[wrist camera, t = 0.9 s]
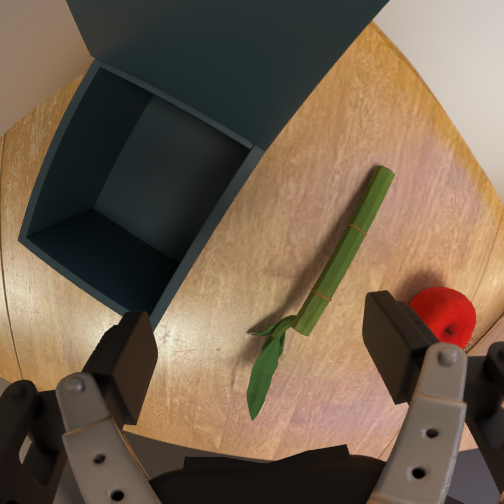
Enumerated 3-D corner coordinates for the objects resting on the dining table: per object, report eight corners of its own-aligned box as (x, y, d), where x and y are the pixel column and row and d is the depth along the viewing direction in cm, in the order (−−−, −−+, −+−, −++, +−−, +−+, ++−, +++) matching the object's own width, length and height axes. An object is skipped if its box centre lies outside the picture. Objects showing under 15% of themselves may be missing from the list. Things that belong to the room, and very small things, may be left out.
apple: (456, 312, 37) (485, 340, 29) (406, 346, 38) (429, 381, 31) (440, 261, 34) (475, 285, 27) (384, 299, 36) (411, 331, 28)
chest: (185, 271, 35) (151, 334, 22) (89, 209, 33) (17, 240, 20) (262, 150, 31) (269, 146, 18) (154, 87, 29) (97, 53, 16)
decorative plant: (419, 191, 30) (280, 427, 32) (376, 188, 37) (261, 388, 39) (381, 157, 28) (232, 415, 30) (340, 161, 36) (221, 374, 38)
